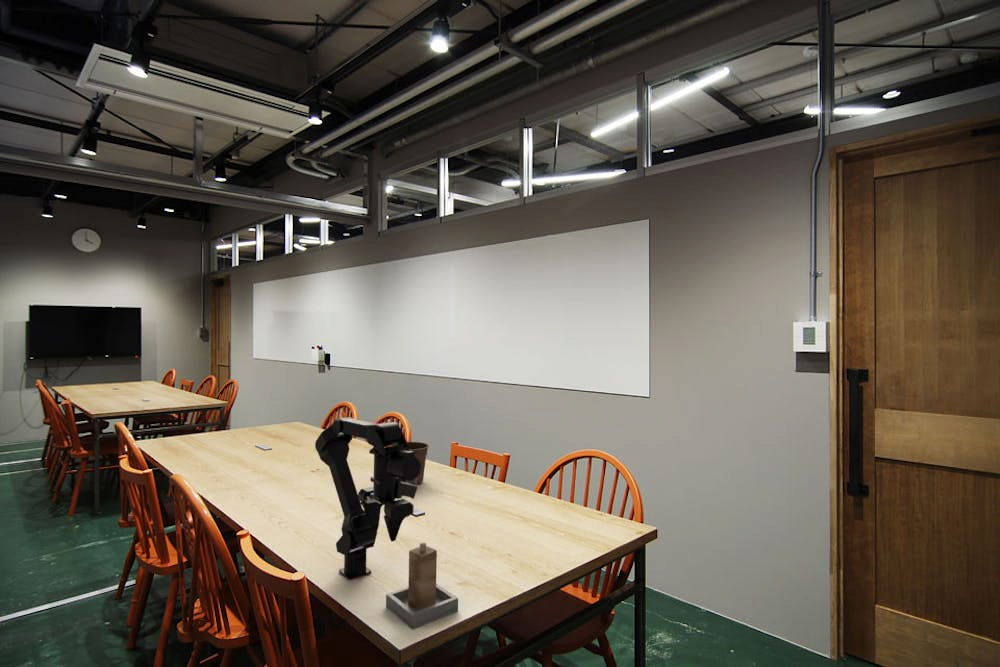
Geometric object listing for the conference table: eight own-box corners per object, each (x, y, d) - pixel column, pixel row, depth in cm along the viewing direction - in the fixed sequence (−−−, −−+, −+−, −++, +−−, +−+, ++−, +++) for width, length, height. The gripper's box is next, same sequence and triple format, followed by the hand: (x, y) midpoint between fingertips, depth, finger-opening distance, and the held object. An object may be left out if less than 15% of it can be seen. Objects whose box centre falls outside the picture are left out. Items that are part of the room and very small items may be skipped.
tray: (385, 607, 119) (386, 594, 119) (429, 591, 126) (429, 579, 126) (412, 629, 109) (412, 615, 110) (457, 611, 117) (458, 598, 117)
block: (408, 605, 118) (409, 544, 118) (423, 597, 121) (424, 538, 121) (420, 612, 115) (422, 549, 115) (435, 604, 118) (436, 543, 118)
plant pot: (435, 482, 224) (436, 445, 224) (406, 489, 212) (407, 450, 212) (412, 475, 235) (413, 440, 235) (383, 482, 223) (383, 445, 223)
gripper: (432, 475, 127) (431, 539, 126) (395, 461, 141) (394, 518, 141) (392, 483, 119) (391, 550, 119) (357, 467, 134) (356, 527, 133)
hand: (384, 535), depth 128 cm, fingers open, 9 cm apart
